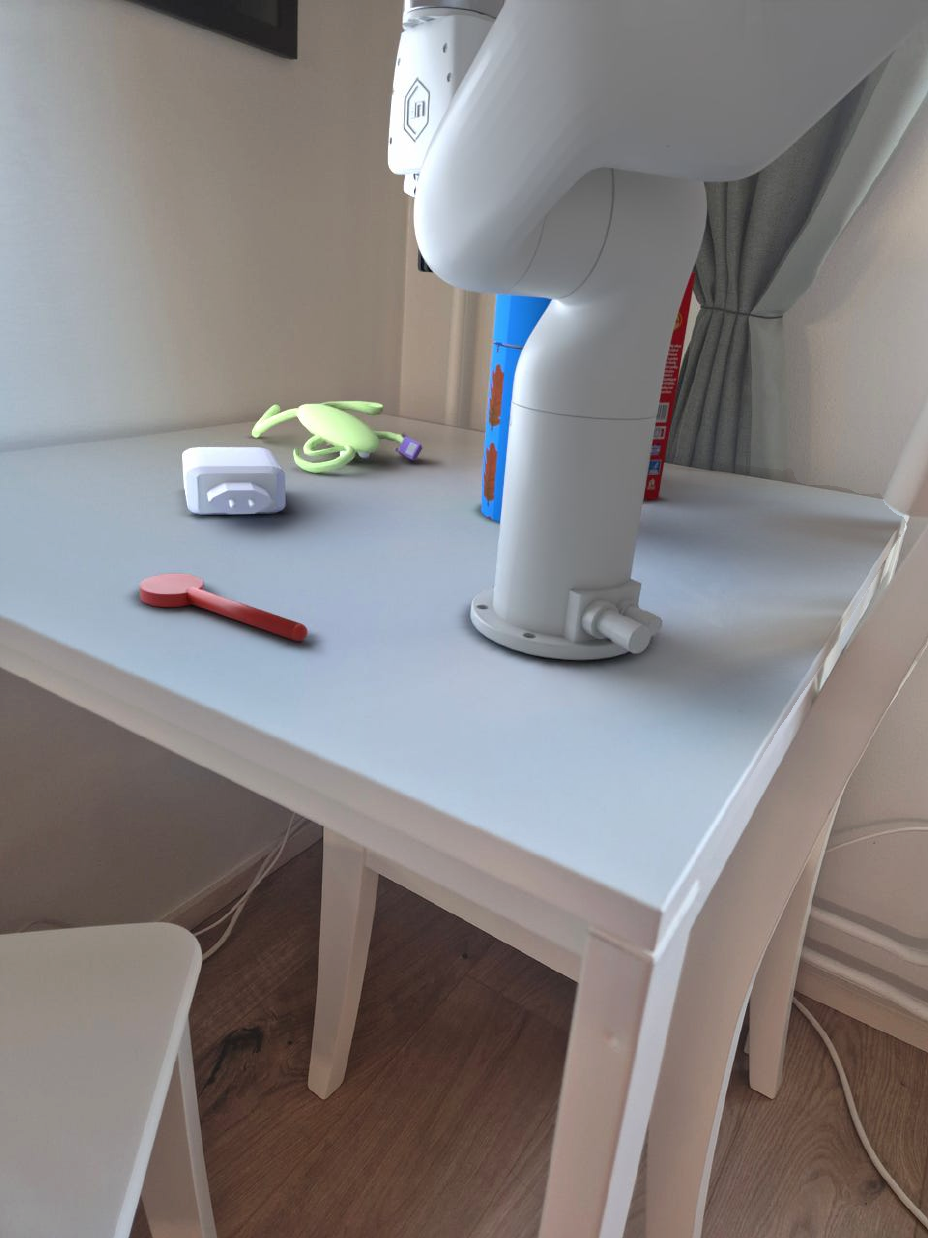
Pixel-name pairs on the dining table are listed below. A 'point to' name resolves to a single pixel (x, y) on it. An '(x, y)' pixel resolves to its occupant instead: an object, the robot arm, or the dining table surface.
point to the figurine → (337, 432)
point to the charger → (233, 481)
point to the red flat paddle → (213, 603)
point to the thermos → (504, 389)
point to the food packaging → (668, 397)
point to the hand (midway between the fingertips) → (438, 272)
